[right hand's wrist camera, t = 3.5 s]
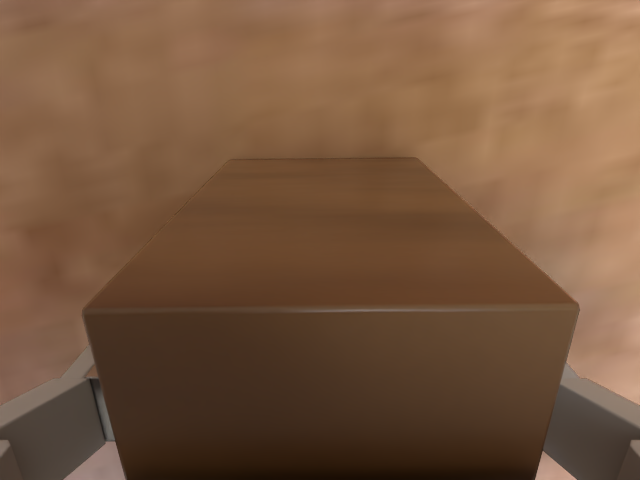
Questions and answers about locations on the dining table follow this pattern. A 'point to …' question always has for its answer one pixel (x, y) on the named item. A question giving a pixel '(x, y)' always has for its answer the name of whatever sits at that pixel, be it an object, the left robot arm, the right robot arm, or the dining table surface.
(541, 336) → the box
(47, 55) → the dining table surface
